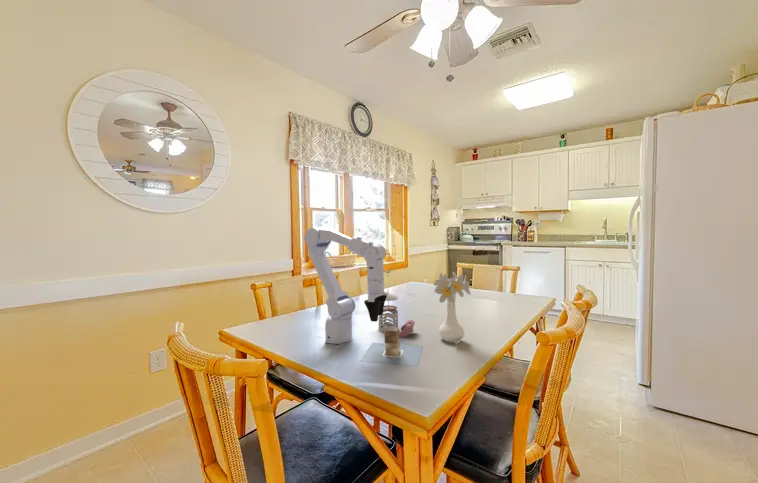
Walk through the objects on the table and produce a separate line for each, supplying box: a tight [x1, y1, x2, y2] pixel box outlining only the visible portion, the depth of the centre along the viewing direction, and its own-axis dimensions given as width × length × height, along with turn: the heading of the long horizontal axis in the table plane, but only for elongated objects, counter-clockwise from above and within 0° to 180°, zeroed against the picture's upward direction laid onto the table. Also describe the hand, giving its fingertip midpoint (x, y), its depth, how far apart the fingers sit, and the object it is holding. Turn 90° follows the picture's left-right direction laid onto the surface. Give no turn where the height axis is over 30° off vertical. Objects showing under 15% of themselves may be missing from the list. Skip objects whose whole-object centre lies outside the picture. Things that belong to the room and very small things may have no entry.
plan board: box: [359, 342, 424, 367], centre depth 102 cm, size 18×16×1 cm
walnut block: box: [384, 326, 400, 344], centre depth 101 cm, size 4×4×4 cm
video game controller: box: [399, 319, 416, 338], centre depth 121 cm, size 10×5×7 cm, turn 169°
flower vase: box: [433, 271, 472, 345], centre depth 112 cm, size 13×18×25 cm
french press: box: [376, 269, 401, 333], centre depth 126 cm, size 10×12×25 cm
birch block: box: [384, 338, 401, 356], centre depth 101 cm, size 4×4×4 cm
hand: (376, 318), depth 108 cm, fingers open, 7 cm apart
